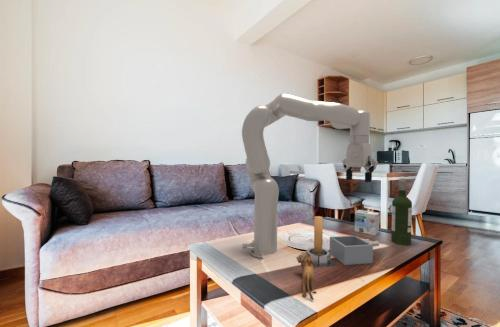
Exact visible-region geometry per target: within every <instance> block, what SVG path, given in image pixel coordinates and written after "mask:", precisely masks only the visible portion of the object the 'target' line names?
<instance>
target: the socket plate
mask: <svg viewBox="0 0 500 327" xmlns="http://www.w3.org/2000/svg"><path fill="white" fill-rule="evenodd" d="M312 250H314V247H310V248H308V249H306V251H305V252H307V253H309V254H310V255H311V257H312V260H313V262H314V268H323V267H324V268H325V267H336V266H337V267H338V266H339V267H340V264H338V263H337V262H336V261H335V260H334V259H333V258H331V254H330V250H328V249H325V248H322V251H324V252H325V255H315V254H311V251H312ZM300 255H301V254H299V255H298V256H300Z"/></svg>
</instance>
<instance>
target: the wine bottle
mask: <svg viewBox="0 0 500 327" xmlns="http://www.w3.org/2000/svg"><path fill="white" fill-rule="evenodd" d="M406 181H407V179H406V178H402V177H400V178H399V179H398V194H397V196H396V197H395V198H393V200H392V201H391V240H390V241H391V242H392V243H393V244H396V245H397V244H398V245H402V246H409V245H411V244H412V221H413V220H412V218H413V217H412V216H413V215H412V214H413V211H412V210H413V202H412V200H411V199H409V197H408V196H407V190H406V189H407V188H406V187H407V186H406Z"/></svg>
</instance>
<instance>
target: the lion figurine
mask: <svg viewBox="0 0 500 327" xmlns="http://www.w3.org/2000/svg"><path fill="white" fill-rule="evenodd" d="M299 255H300V256H299ZM299 255H298V256H296V258H295V259H296V261H297V262H298V264H300V266H301V270H302V273H301V274H302V275H301V277H302V292H303V293H302V297H303V298H306V297H307V294H308V295H309V298H310V299H311V301H314V296H313V295H312V293H313V294H317V291H314V290H315V274H314V273H315V267H314V262H313V260H312V257H311V255H310V254H309V253H307V252H306V251H305V250H304V251H301V254H299ZM310 285H311V290H312V293H311V291H310ZM306 287H307V288H306ZM307 292H308V293H307Z"/></svg>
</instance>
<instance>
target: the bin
mask: <svg viewBox="0 0 500 327" xmlns="http://www.w3.org/2000/svg"><path fill="white" fill-rule="evenodd" d="M329 252H330V256H331V255H332V256H333V258H335V259H337V260H338V261H339V262H340V263H342V264H343V265H344V266H351V265H352V266H353V265H364V264H373V263H374V262H373V260H374V258H373V257H374V246H373V245H372V244H370V243H368V242H366V241H364V239H363V238H361V237H359V236H357V235H342V236H341V235H340V236H330V237H329Z"/></svg>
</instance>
